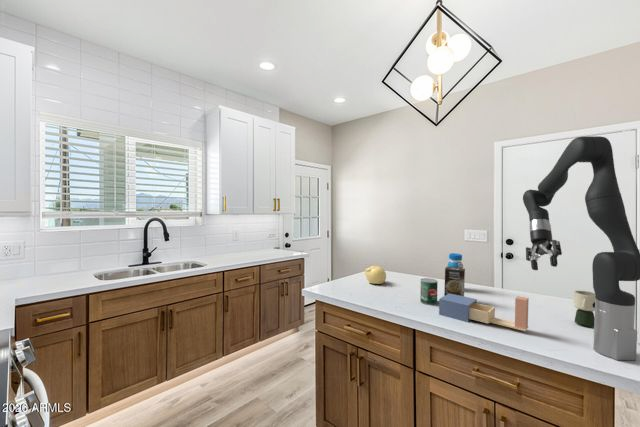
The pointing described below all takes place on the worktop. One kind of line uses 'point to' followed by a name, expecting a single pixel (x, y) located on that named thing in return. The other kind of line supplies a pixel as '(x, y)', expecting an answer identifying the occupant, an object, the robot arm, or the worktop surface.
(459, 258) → the beverage bottle
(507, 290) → the worktop surface
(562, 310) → the worktop surface
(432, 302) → the canned tomato
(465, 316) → the sleeve
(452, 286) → the coffee box
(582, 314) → the character mug
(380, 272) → the yellow apple
